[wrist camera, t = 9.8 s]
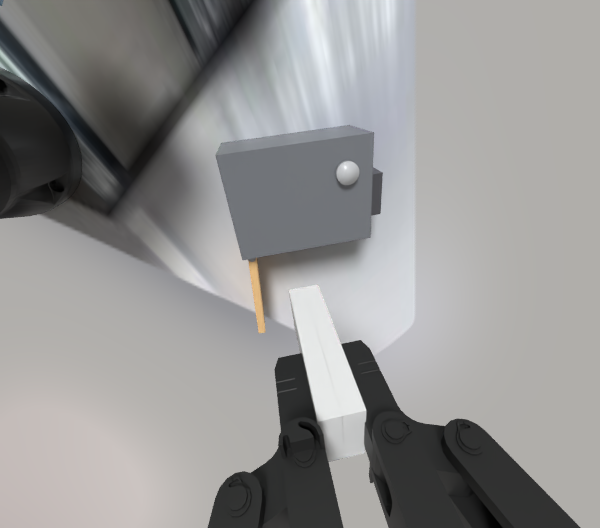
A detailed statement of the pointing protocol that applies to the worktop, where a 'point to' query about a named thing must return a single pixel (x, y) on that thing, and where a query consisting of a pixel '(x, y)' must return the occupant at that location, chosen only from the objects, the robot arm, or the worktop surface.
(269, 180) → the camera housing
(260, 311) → the side door
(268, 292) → the worktop surface
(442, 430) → the robot arm
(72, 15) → the worktop surface
